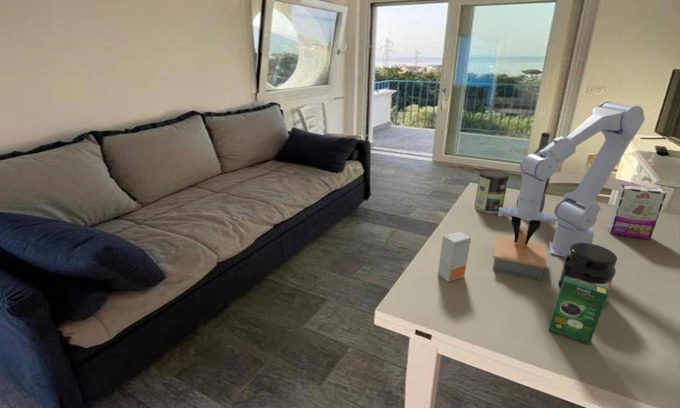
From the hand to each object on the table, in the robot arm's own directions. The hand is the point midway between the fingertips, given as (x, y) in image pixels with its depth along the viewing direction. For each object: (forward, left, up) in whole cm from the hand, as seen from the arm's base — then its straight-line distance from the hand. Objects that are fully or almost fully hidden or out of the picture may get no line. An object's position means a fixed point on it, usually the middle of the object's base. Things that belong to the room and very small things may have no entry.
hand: (520, 242), depth 108 cm
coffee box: (-11, +30, -6) cm, 32 cm away
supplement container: (-15, +12, -6) cm, 20 cm away
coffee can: (+11, -35, -6) cm, 38 cm away
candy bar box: (-33, -32, -6) cm, 47 cm away
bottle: (-3, -36, -6) cm, 37 cm away
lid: (0, +4, -2) cm, 4 cm away
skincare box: (+16, +18, -6) cm, 24 cm away
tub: (0, +4, -5) cm, 6 cm away
